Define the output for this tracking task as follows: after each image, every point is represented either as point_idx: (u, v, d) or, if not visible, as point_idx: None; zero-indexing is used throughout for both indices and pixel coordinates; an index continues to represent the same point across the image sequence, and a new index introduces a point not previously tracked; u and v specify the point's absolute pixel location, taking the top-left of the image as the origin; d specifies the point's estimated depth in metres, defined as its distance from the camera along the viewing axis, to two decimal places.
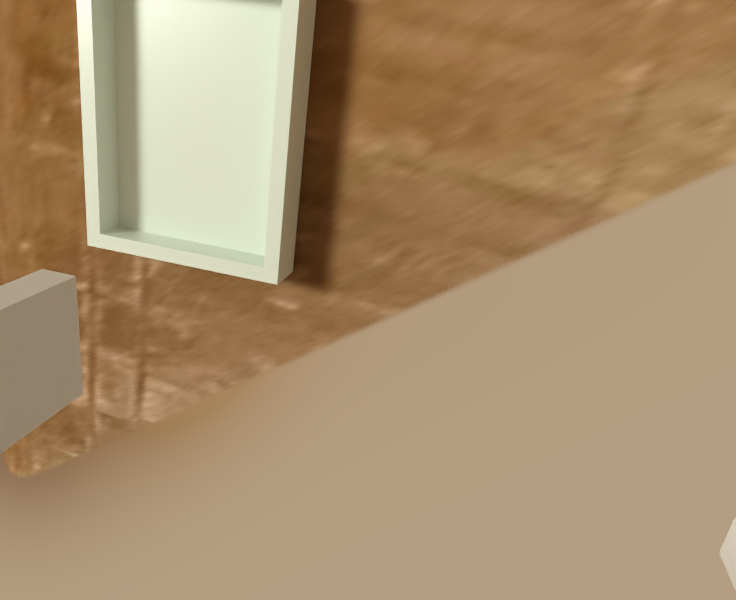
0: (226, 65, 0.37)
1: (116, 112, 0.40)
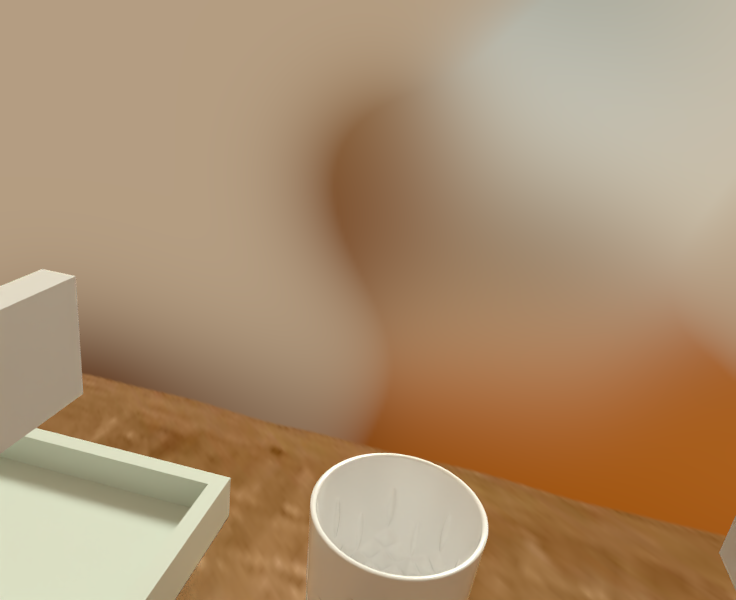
0: (63, 593, 0.31)
1: (91, 481, 0.38)
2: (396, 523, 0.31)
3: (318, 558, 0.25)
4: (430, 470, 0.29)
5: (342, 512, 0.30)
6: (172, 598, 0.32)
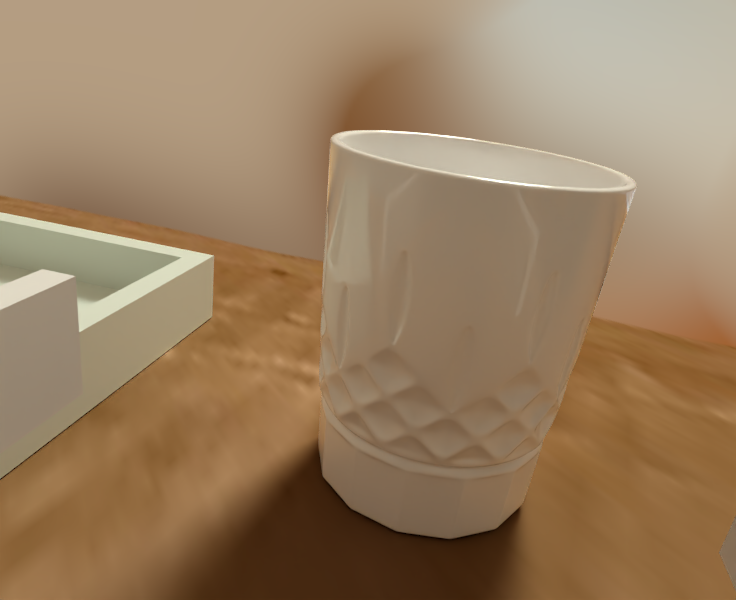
0: None
1: (25, 269, 0.28)
2: None
3: (345, 204, 0.14)
4: (516, 156, 0.19)
5: None
6: (120, 378, 0.21)
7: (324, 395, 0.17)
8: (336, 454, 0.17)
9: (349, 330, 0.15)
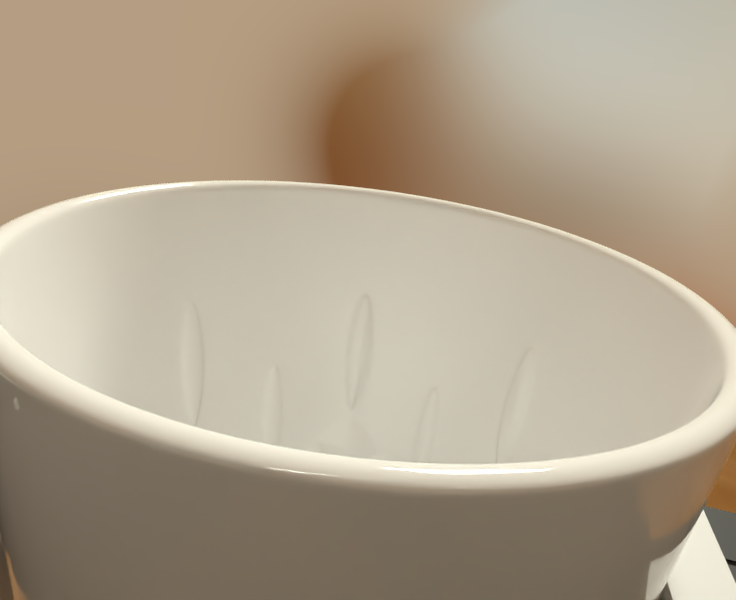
0: None
1: None
2: (373, 401, 0.11)
3: None
4: (472, 227, 0.10)
5: (212, 352, 0.10)
6: None
7: None
8: None
9: None
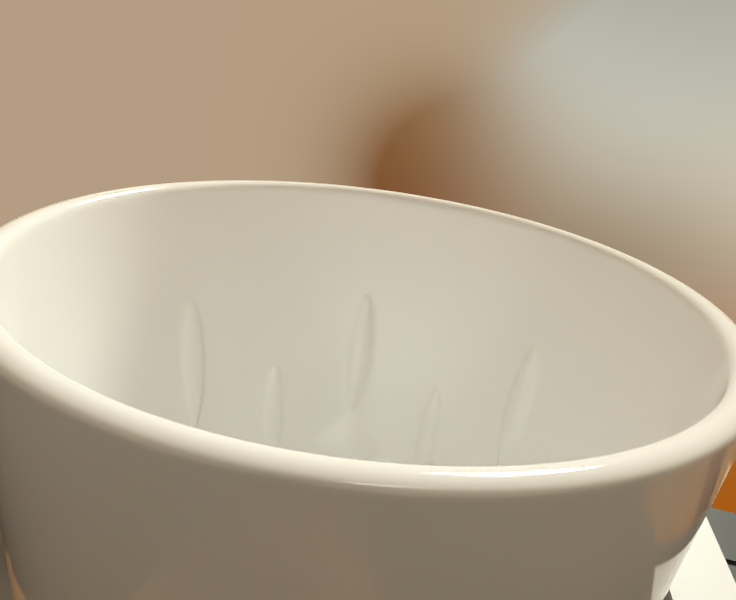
0: None
1: None
2: (375, 402, 0.11)
3: None
4: (473, 227, 0.10)
5: (213, 352, 0.10)
6: None
7: None
8: None
9: None
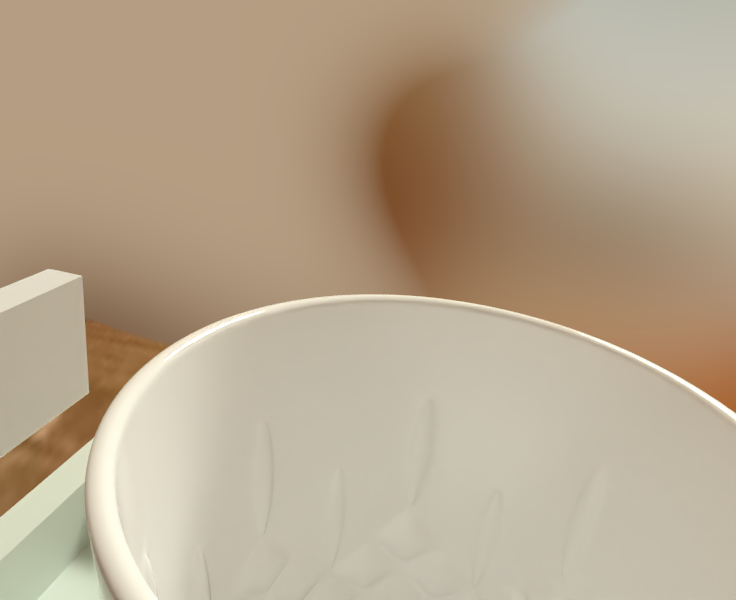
0: None
1: None
2: (435, 498, 0.11)
3: None
4: (539, 340, 0.10)
5: (281, 463, 0.10)
6: None
7: None
8: None
9: None
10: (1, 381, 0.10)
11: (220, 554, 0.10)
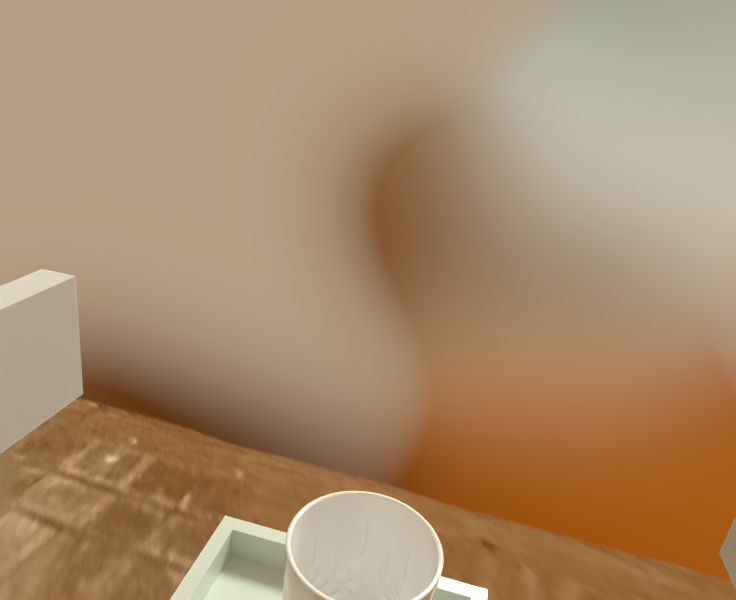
0: None
1: None
2: (367, 554, 0.34)
3: (290, 587, 0.28)
4: (398, 508, 0.33)
5: (318, 543, 0.33)
6: None
7: None
8: None
9: None
10: None
11: (300, 572, 0.32)
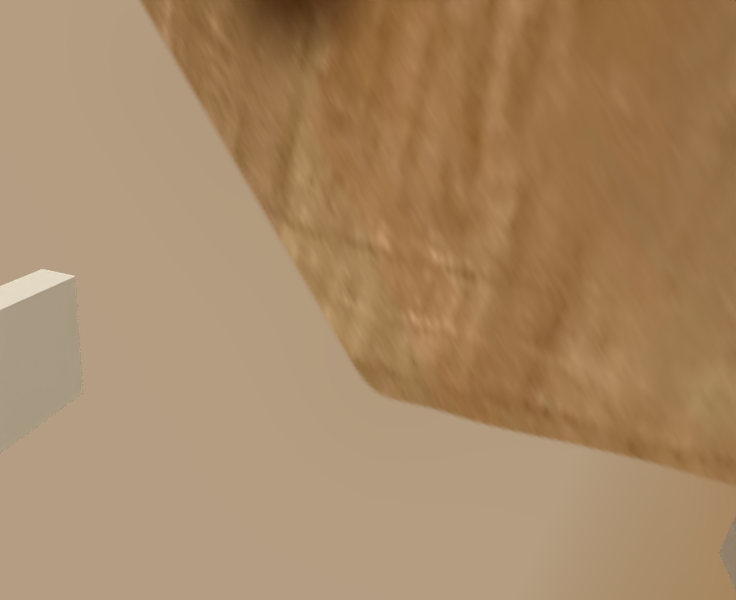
0: None
1: None
2: None
3: None
4: None
5: None
6: None
7: None
8: None
9: None
10: None
11: None
